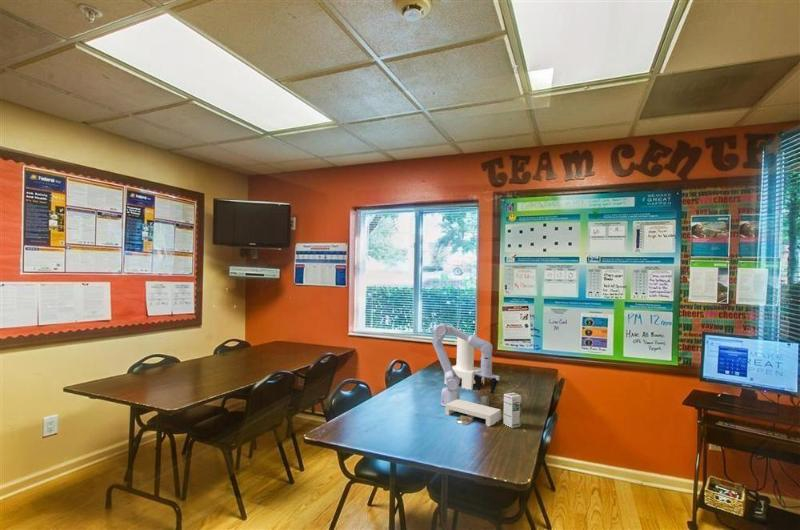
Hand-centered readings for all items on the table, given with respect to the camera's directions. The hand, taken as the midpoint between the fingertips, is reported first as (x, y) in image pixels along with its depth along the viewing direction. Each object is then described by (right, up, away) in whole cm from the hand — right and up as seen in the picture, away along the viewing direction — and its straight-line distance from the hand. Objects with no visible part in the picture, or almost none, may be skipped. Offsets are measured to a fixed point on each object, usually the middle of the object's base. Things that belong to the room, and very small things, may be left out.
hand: (485, 391), depth 212 cm
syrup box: (+8, -9, -21) cm, 25 cm away
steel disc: (-15, -9, -20) cm, 26 cm away
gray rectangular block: (-7, -9, -9) cm, 14 cm away
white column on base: (-3, -11, +49) cm, 51 cm away
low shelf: (-9, -9, -12) cm, 17 cm away
